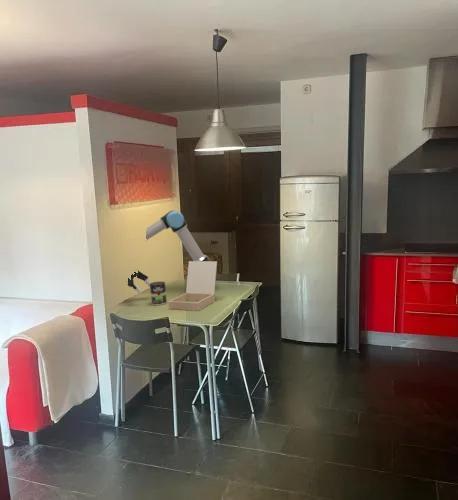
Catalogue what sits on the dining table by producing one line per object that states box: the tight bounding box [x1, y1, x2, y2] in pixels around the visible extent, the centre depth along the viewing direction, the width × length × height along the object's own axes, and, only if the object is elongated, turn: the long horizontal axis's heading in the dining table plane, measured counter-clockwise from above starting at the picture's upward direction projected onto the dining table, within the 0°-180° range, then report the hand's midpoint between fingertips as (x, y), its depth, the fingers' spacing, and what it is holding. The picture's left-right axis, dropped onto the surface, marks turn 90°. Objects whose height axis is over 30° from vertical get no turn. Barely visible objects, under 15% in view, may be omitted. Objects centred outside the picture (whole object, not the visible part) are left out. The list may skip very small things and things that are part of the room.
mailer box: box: [167, 260, 218, 312], centre depth 298 cm, size 30×22×26 cm
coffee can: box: [149, 281, 168, 306], centre depth 307 cm, size 10×10×14 cm
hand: (145, 289), depth 312 cm, fingers open, 13 cm apart
